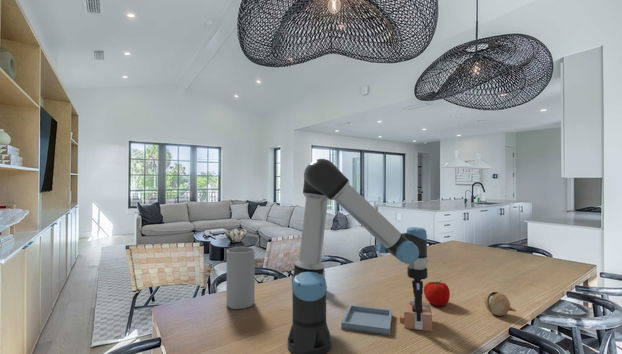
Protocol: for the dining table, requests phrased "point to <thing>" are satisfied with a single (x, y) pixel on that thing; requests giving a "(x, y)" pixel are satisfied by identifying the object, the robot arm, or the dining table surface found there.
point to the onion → (498, 304)
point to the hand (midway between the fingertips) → (418, 321)
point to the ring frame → (410, 317)
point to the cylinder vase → (240, 277)
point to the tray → (367, 319)
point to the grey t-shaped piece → (414, 304)
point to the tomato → (437, 293)
